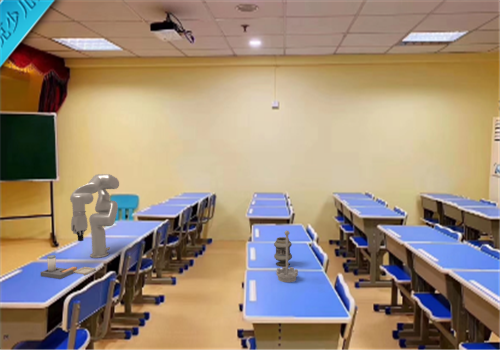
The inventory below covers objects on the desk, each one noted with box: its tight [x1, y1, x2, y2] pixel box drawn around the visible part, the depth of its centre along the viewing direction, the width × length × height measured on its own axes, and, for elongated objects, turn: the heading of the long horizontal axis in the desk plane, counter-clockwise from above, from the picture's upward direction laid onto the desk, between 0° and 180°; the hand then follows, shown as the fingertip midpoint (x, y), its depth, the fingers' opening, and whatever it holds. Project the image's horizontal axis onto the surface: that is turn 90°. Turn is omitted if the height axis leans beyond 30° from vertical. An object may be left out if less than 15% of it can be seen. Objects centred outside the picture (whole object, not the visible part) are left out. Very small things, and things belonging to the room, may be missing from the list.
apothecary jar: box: [273, 236, 293, 268], centre depth 252 cm, size 12×12×18 cm
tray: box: [73, 266, 96, 276], centre depth 241 cm, size 9×9×2 cm
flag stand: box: [275, 230, 299, 283], centre depth 225 cm, size 13×13×30 cm
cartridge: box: [46, 254, 57, 272], centre depth 236 cm, size 5×5×12 cm
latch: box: [62, 266, 78, 273], centre depth 239 cm, size 10×3×2 cm, turn 160°
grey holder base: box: [40, 266, 74, 280], centre depth 235 cm, size 10×16×3 cm, turn 70°
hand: (80, 240), depth 247 cm, fingers closed
